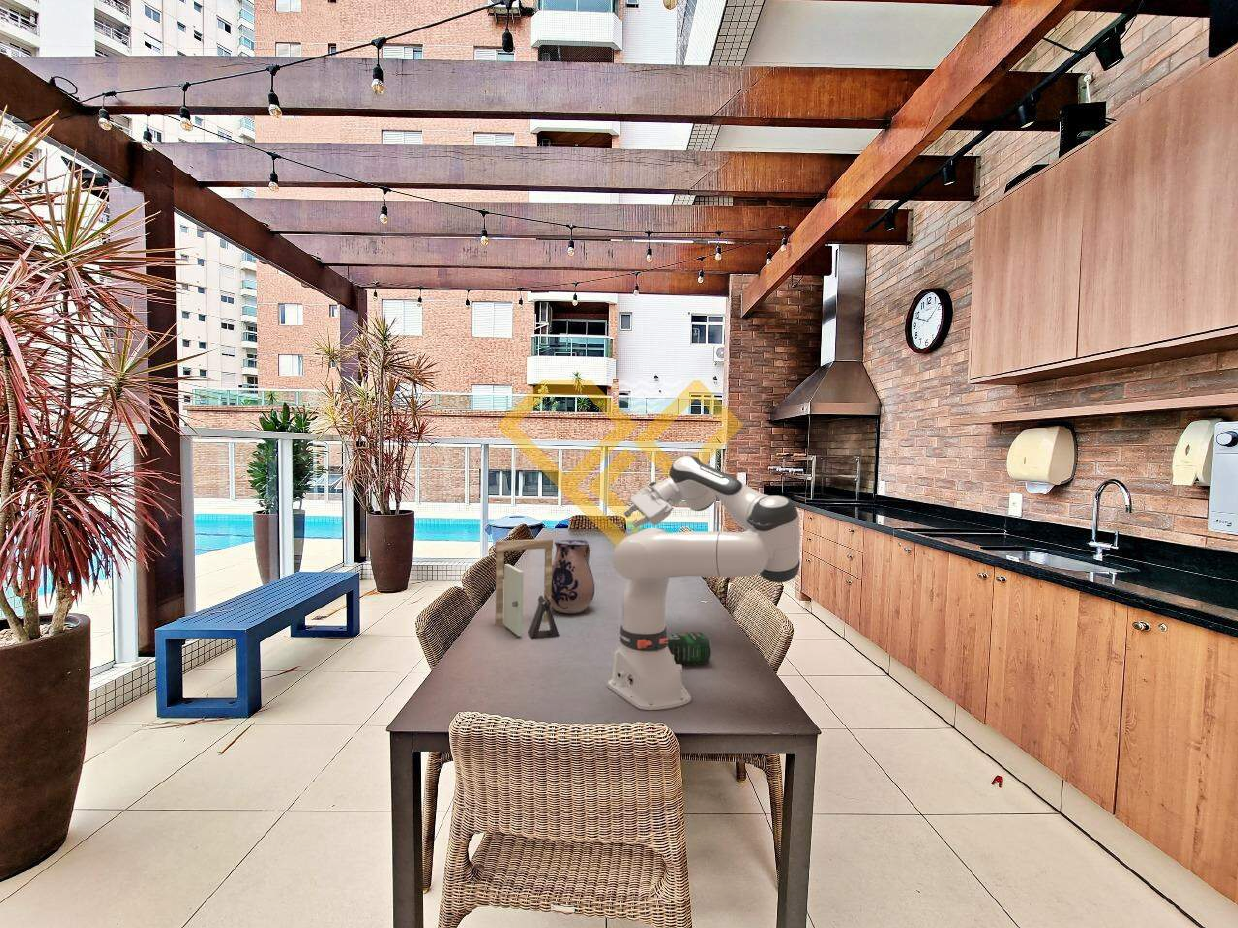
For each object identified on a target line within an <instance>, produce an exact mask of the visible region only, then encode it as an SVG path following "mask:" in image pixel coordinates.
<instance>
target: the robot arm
mask: <svg viewBox="0 0 1238 928" xmlns="http://www.w3.org/2000/svg"><path fill="white" fill-rule="evenodd" d="M668 475H669V477H667V478H665V479H663V480H662V481H650V482H649V483H648V484H647V486H645V487H643V488H641V489H640V490H639V491H637V492H636V493H634V495H632V496H631V498H630V502H631V504H630V505H629V507H628V508H627V509H626V510H625V511H623V513H622V514H623V515H624V517H625V518H629V517H631V516H632V514H633V513H634V512H637V511H638V512H639V513H640V514H641V515H642V516H641V517H640V518H638V519H635V520H633V521H632V522H631V524H632V526H633V527H634V528H638V527H640V526H643V525H646V524H648V523H650V524H651V525H652V526H657V525H659V524H660V523H662V522H663V521H664V520H665V519H667V518H668V517H669V516H670V515H671V513H672V511H673V510H674V509H675V506H676V505H679V504H680V503H681V502H682V501H684V502H685V505H687V507H688V508H689V509H690V510H691V511H693V512H694V511H695V512H701V511H705V510H707V509H708V508H710V507H711V506H712V505H713V504H714V502H715V500H716V497H717V498H718V499H719V501H720V502H721V503H722V505H723V507H724V508H725V510H726V511H727V512H728V514H729V516H730V518H731V520H732V521H733V522H734V523H735V524H736V525H738V526H739V527H740V528H742V529H743V530H745V531H740V532H739V531H737V532H736V531H721V530H720V531H718V530H717V531H714V530H713V531H712V530H710V531H708V530H707V531H706V530H704V531H702V530H697V531H696V530H693V531H692V530H687V531H678V532H667V531H666V530H665V529H661V528H658V527H647V528H644V529H642V530H639V531H637V532H635V533H633V534H629V535H627V536H626V537H624V538H623V539H622V540H621V541H620V542H619V543H618V544H617V546H616V547H615V549H614V552H613V555H612V556H613V557H612V563H613V568H615V571H616V572H617V573H618V575H620V576H621V577H622V578H625V579H626V580H627V581H626V585H625V589H624V591H623V595H622V597H621V598H622V601H621V604H622V605H621V625H620V628H619V634H618V635H619V642H620V644H619V645H618V648H617V649H616V651H615V652H614V656H613V669H612V678H611V679H610V680H608V681H607V685H606V686H607V688H609V689H610V690H611V691H612V692H614V693H616V694H617V695H618V696H619V697H621V698H622V699H624V700H626V701H627V702H628V703H630V704H631V705H632V706H634V707H636V708H637V709H639V710H645V711H657V710H658V711H659V710H667V709H672V708H676V707H681V706H684V705H686V704H688V703H690V702H691V701H692V696H691V695H690V693H689V692H688V690H687V689H686V688H685V686H684V685H683V683H682V676H681V674H683V665H680V664H677V665H676V663H675V660H674V655H672V654H671V652H670V650H669V648H668V633H667V632H668V631H667V627H666V605H667V604H666V602H667V593H668V587H669V582H670V581H669V580H670V579H671V578H683V577H684V578H685V577H694V578H695V577H697V578H698V577H700V578H701V577H702V578H727V579H728V578H730V579H731V578H743V577H751V576H757V575H760V577H762V578H763V579H764V580H767V581H769V582H772V583H786V582H789V581H791V580H792V579H794V578H796V576H797V575H798V573H799V569H800V564H801V563H800V561H801V560H800V540H801V536H800V535H801V533H800V515H799V513H798V511H797V507H796V505H795V502H794V501H793V500H792V499H791V498H790V497H787V496H784V495H778V494H777V495H776V494H775V495H768V494H765V493H762V492H761V491H760V492H759V490H755V489H753V488H751V487H749V485H746V484H745V483H743V482H742V481H740V480H739V479H737V478H736V477H733V476H732V475H730V474H728V473H726V472H724V471H721V470H719V469H717V468H715V467H712V466H710V465H708V464H705V463H704V462H702V460H701V459H700V458H699V457H696V456H695V455H694V456H693V455H682V456H679V457H677V458H676V459H675V460H674V461H673V463H672V464H671V466H670V469H669V474H668Z"/></svg>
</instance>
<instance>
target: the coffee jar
mask: <svg viewBox="0 0 1238 928" xmlns="http://www.w3.org/2000/svg"><path fill="white" fill-rule="evenodd" d="M667 634H668V633H667ZM668 648H669V650H670V652H671V654H672V655H674V660H675V663H676V665H677V664H680V665H681V666H686V665H688V666H689V665H707V664H709V662H710V659H711V656H712V649H711V645H710V640H709V638H708V637H707V636H706V635H705V634H704V633H703V632H702V631H692V632H691V631H690V632H683V633H682V632H681V633H669V634H668Z"/></svg>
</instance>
